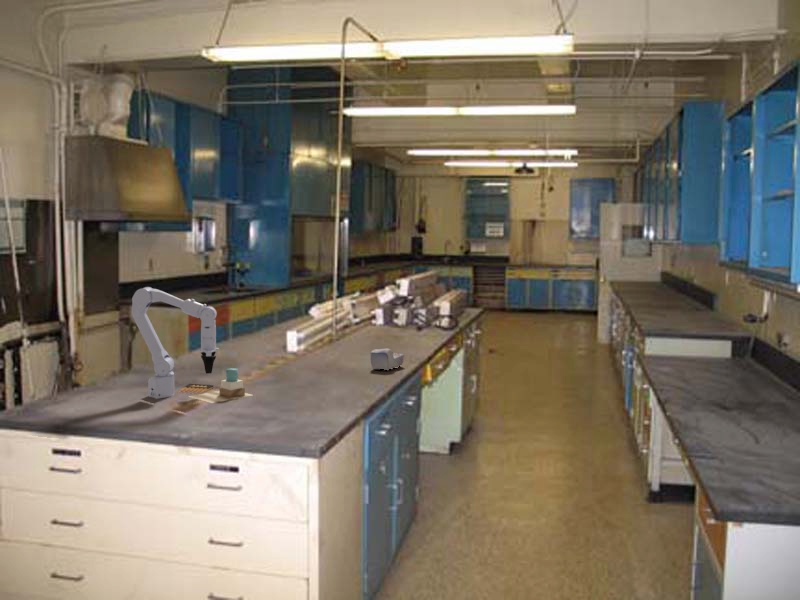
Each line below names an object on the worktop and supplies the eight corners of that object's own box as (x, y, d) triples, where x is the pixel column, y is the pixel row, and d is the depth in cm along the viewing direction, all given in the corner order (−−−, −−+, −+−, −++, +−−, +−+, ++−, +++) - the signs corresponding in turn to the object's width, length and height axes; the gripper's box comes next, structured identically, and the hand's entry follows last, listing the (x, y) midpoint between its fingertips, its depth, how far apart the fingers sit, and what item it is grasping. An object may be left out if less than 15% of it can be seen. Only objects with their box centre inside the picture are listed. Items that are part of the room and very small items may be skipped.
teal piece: (231, 382, 298) (231, 370, 298) (223, 380, 301) (224, 369, 301) (240, 380, 301) (240, 369, 301) (233, 378, 304) (233, 367, 304)
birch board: (212, 405, 288) (212, 403, 288) (187, 398, 298) (187, 396, 298) (253, 397, 303) (253, 395, 303) (229, 390, 314) (229, 388, 313)
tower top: (230, 390, 297) (230, 382, 297) (221, 387, 301) (221, 380, 301) (242, 388, 302) (242, 380, 302) (233, 385, 306) (233, 378, 305)
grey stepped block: (367, 348, 363) (381, 343, 382) (367, 370, 364) (380, 364, 383) (393, 350, 359) (406, 345, 378) (393, 372, 360) (405, 366, 379)
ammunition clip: (213, 385, 314) (200, 392, 303) (213, 389, 315) (200, 396, 303) (189, 383, 316) (175, 390, 305) (189, 387, 317) (175, 395, 305)
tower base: (230, 398, 297) (230, 390, 297) (219, 395, 301) (219, 387, 301) (244, 395, 302) (244, 388, 302) (233, 392, 307) (233, 385, 306)
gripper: (219, 339, 293) (219, 374, 294) (218, 334, 307) (218, 367, 308) (200, 340, 291) (200, 375, 292) (200, 334, 305) (200, 368, 306)
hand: (208, 371), depth 300 cm, fingers open, 7 cm apart
